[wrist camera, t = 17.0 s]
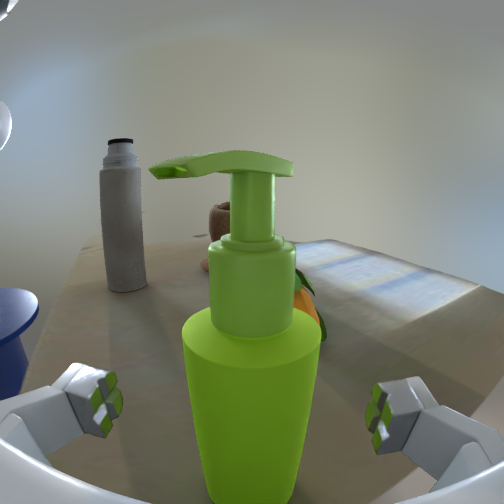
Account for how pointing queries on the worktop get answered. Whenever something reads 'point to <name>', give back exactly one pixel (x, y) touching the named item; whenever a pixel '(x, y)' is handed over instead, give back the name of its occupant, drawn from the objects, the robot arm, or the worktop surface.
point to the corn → (306, 301)
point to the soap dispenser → (248, 340)
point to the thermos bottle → (122, 217)
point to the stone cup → (218, 226)
